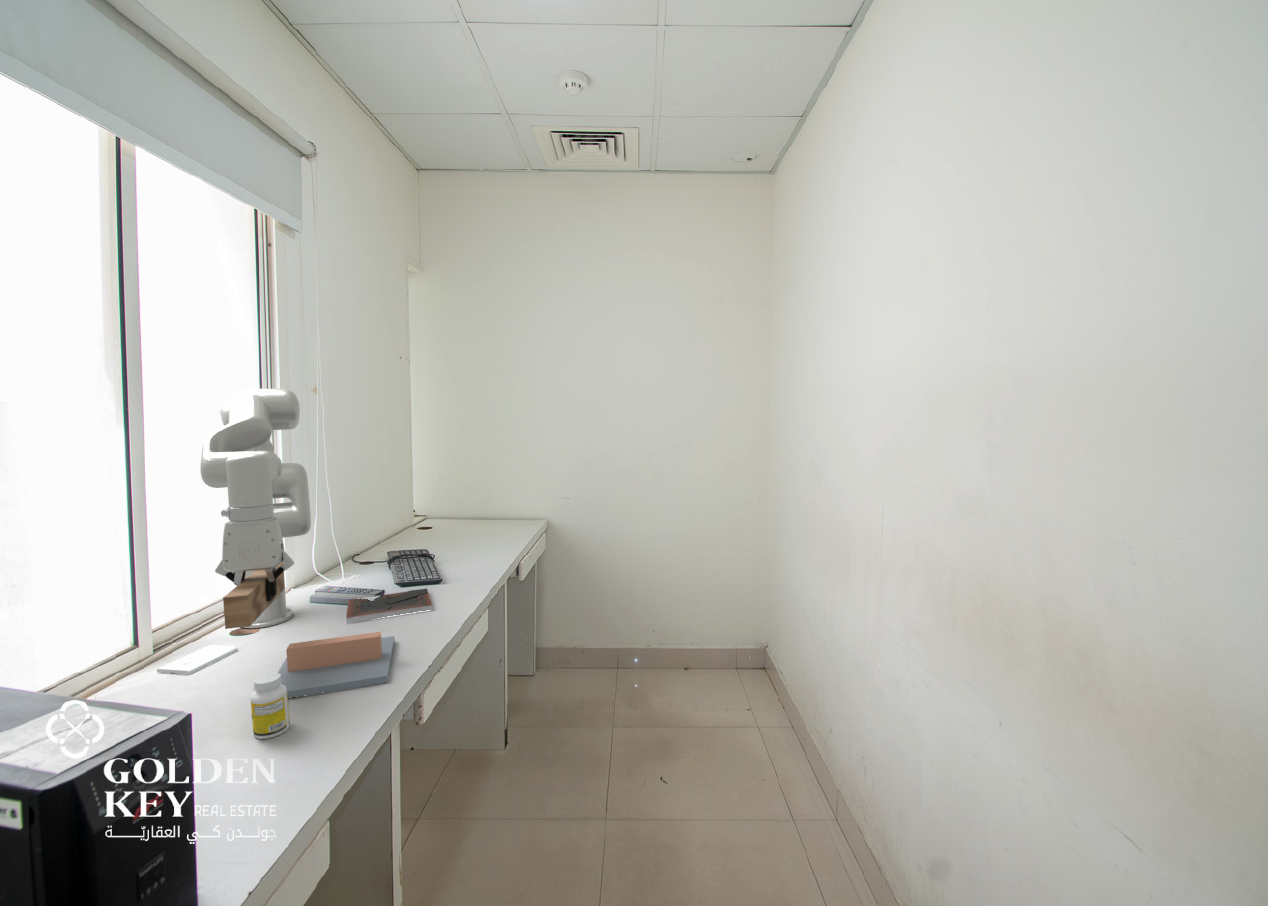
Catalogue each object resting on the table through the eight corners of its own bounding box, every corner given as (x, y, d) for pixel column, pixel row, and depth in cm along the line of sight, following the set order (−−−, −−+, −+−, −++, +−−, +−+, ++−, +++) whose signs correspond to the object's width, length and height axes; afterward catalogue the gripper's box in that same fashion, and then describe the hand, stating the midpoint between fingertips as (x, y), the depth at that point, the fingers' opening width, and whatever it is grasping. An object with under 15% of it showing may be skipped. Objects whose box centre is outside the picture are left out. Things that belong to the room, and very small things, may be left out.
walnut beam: (264, 590, 128) (262, 564, 128) (284, 588, 130) (283, 562, 129) (225, 628, 106) (223, 597, 105) (250, 626, 107) (247, 595, 107)
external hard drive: (238, 653, 134) (189, 677, 122) (208, 651, 135) (157, 675, 123) (237, 646, 134) (188, 670, 122) (208, 644, 135) (156, 668, 123)
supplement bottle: (264, 723, 102) (260, 671, 101) (295, 722, 103) (292, 669, 102) (246, 741, 97) (242, 686, 96) (279, 739, 97) (275, 684, 96)
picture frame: (427, 596, 174) (349, 607, 165) (427, 588, 174) (348, 598, 165) (432, 613, 159) (346, 626, 150) (432, 604, 159) (346, 617, 150)
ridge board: (291, 656, 130) (289, 629, 130) (394, 642, 138) (393, 616, 137) (264, 702, 110) (262, 670, 109) (387, 682, 117) (386, 652, 116)
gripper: (195, 520, 110) (202, 611, 112) (293, 514, 115) (298, 601, 117) (211, 513, 117) (217, 599, 119) (302, 508, 122) (307, 590, 124)
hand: (257, 599), depth 118 cm, fingers closed on walnut beam, 4 cm apart
